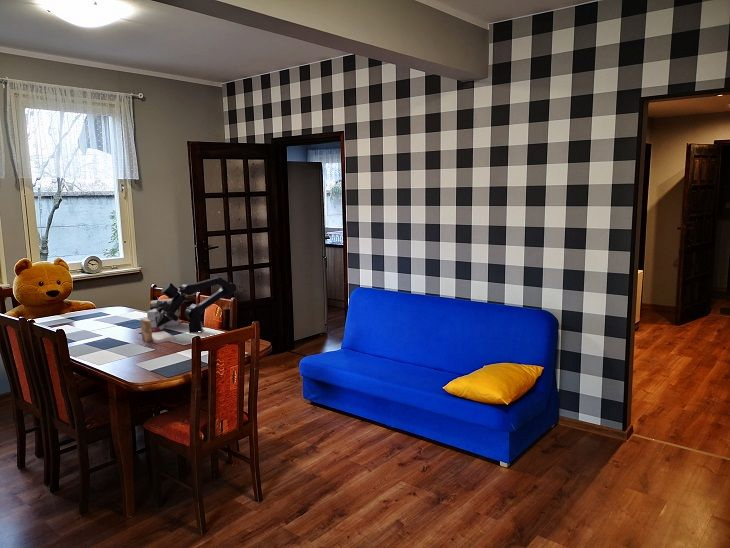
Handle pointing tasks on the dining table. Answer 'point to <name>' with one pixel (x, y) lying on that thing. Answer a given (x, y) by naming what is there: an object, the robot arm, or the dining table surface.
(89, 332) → the dining table surface
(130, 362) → the dining table surface
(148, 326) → the stub
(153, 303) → the tea box
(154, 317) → the ink box
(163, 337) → the plate
